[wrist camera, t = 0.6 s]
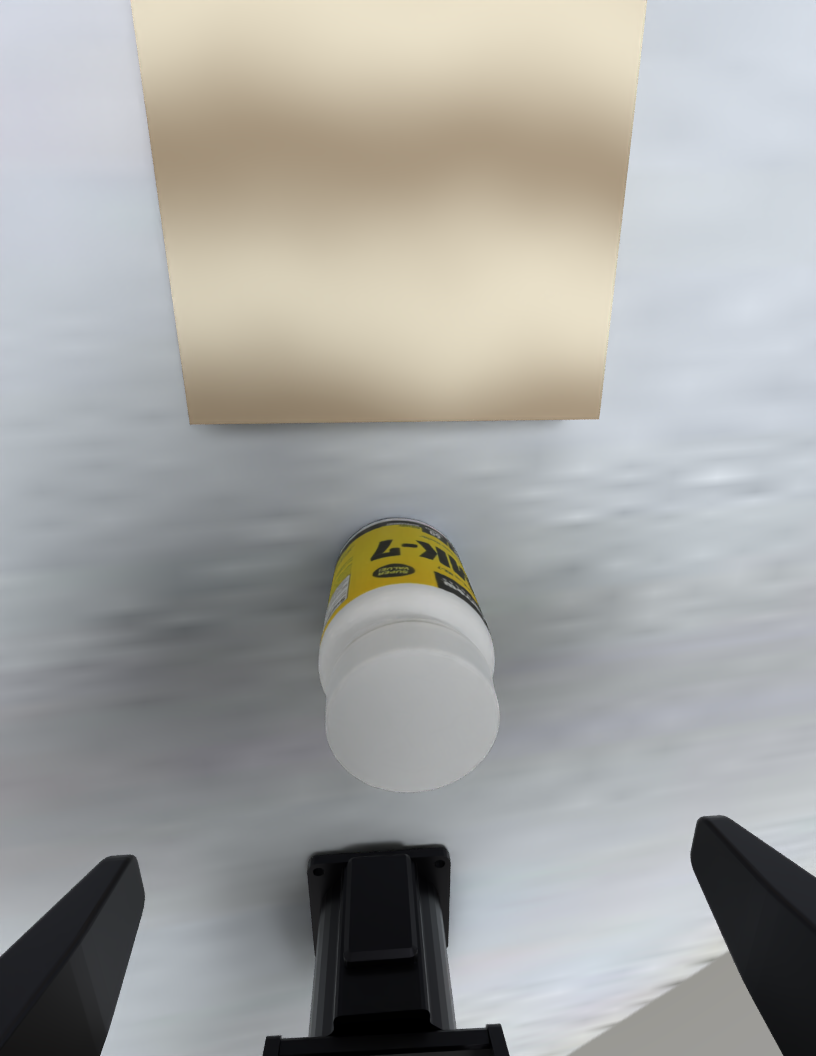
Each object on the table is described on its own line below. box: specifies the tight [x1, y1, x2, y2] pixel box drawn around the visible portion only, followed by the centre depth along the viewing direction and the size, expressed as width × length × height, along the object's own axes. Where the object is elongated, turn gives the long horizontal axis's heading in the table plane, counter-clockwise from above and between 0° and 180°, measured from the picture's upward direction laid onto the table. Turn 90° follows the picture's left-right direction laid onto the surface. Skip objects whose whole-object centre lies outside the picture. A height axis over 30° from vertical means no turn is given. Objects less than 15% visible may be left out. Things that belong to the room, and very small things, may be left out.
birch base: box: [131, 0, 647, 424], centre depth 14 cm, size 12×12×2 cm
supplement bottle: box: [318, 518, 500, 793], centre depth 16 cm, size 5×5×8 cm
